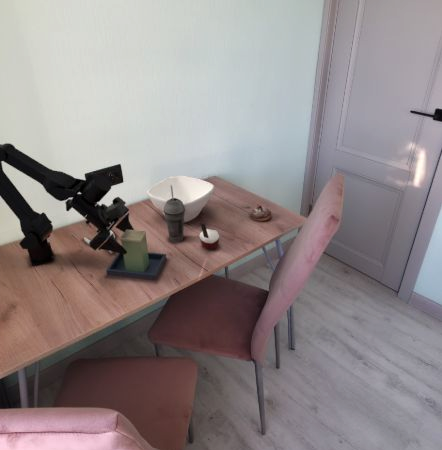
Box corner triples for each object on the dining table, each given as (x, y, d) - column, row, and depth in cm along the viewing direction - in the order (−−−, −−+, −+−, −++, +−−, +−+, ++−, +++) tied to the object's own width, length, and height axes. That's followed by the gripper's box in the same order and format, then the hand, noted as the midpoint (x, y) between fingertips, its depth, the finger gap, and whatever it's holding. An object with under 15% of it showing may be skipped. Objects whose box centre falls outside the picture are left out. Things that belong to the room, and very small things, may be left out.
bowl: (222, 211, 159) (221, 184, 152) (188, 236, 143) (187, 207, 137) (177, 198, 169) (175, 172, 163) (141, 220, 153) (138, 192, 147)
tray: (156, 281, 121) (155, 275, 120) (107, 276, 123) (106, 270, 122) (166, 260, 130) (165, 253, 129) (121, 255, 133) (120, 249, 131)
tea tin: (144, 272, 124) (140, 239, 118) (125, 270, 125) (120, 238, 118) (149, 263, 128) (145, 230, 122) (131, 261, 129) (126, 229, 123)
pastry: (246, 216, 155) (247, 204, 153) (260, 210, 160) (260, 198, 157) (262, 223, 150) (262, 212, 148) (275, 217, 155) (276, 205, 152)
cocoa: (212, 238, 141) (212, 208, 135) (225, 245, 138) (225, 214, 131) (192, 249, 136) (190, 218, 129) (204, 256, 132) (204, 225, 126)
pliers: (108, 226, 146) (128, 243, 136) (109, 230, 147) (129, 247, 137) (82, 235, 141) (101, 254, 131) (83, 239, 141) (102, 258, 132)
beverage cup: (170, 246, 137) (166, 193, 127) (163, 236, 143) (158, 185, 132) (190, 241, 140) (187, 188, 129) (182, 231, 146) (178, 180, 135)
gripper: (92, 209, 106) (137, 247, 111) (118, 181, 122) (157, 215, 126) (70, 232, 112) (114, 268, 116) (98, 202, 127) (136, 235, 132)
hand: (131, 245), depth 122 cm, fingers open, 9 cm apart
